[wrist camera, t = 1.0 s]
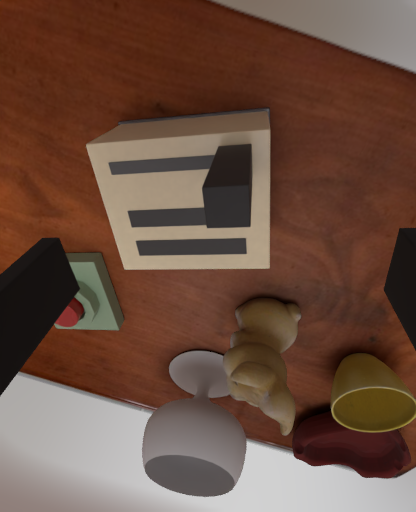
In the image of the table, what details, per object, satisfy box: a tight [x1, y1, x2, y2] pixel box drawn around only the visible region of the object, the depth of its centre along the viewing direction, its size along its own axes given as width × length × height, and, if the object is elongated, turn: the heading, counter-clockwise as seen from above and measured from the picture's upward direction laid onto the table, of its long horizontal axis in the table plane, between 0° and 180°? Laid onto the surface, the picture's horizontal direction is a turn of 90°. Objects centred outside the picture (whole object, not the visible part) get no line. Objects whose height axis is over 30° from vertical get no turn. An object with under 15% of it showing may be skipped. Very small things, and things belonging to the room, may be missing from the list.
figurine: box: [223, 298, 301, 435], centre depth 36 cm, size 10×8×15 cm
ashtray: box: [292, 411, 411, 478], centre depth 51 cm, size 18×16×5 cm
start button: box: [55, 297, 84, 327], centre depth 40 cm, size 4×4×2 cm
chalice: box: [142, 351, 246, 497], centre depth 45 cm, size 14×14×15 cm
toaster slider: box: [202, 144, 253, 228], centre depth 19 cm, size 2×2×8 cm
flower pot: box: [331, 353, 416, 432], centre depth 42 cm, size 10×10×7 cm
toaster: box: [86, 107, 270, 270], centre depth 29 cm, size 12×14×8 cm
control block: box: [54, 253, 124, 330], centre depth 42 cm, size 12×10×4 cm
